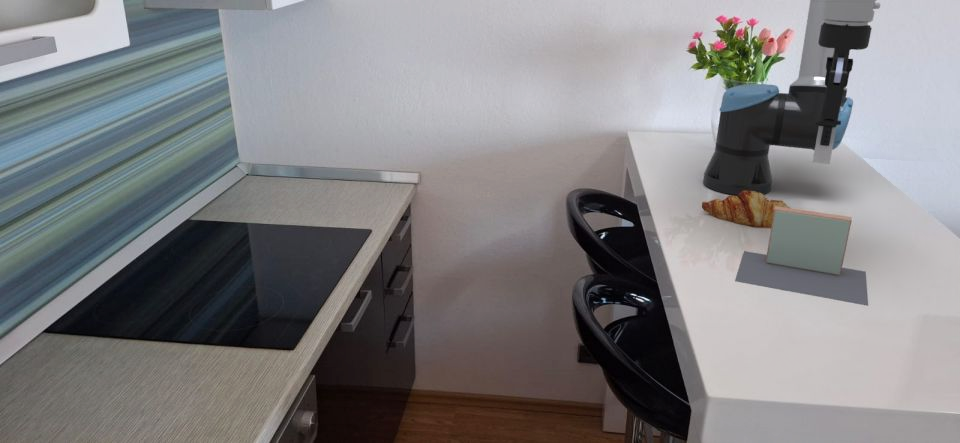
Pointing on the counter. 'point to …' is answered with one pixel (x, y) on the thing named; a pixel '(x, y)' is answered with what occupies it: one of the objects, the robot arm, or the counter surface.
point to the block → (808, 240)
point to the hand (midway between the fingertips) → (821, 162)
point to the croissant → (744, 209)
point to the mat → (803, 279)
